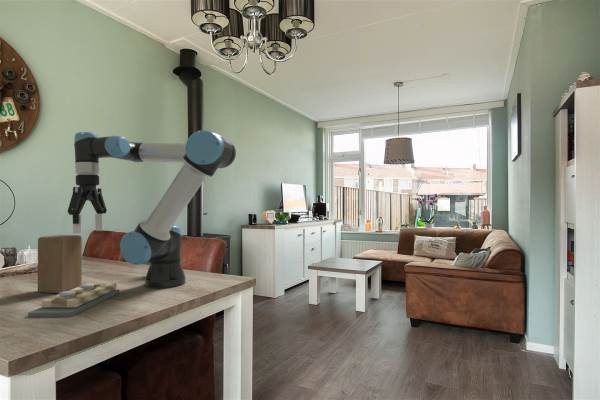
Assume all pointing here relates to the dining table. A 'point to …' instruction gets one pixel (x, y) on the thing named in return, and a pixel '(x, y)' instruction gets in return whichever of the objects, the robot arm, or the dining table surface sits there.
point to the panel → (80, 296)
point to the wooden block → (59, 263)
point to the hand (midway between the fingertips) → (89, 231)
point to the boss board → (70, 310)
